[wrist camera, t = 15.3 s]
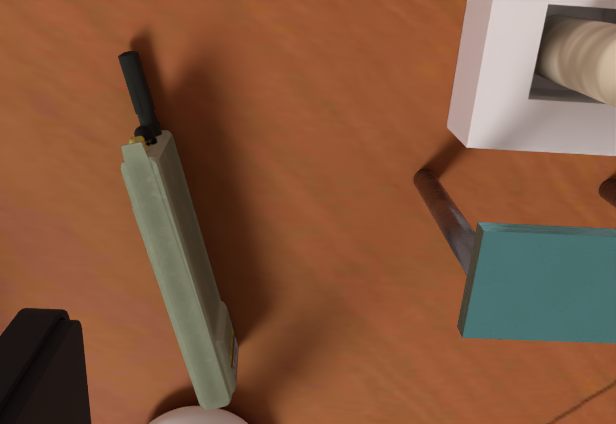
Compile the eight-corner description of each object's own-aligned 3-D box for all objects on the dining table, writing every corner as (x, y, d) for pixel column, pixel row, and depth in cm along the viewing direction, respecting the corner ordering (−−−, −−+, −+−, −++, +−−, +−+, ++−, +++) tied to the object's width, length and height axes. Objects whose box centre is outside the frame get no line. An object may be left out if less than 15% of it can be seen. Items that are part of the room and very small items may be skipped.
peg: (529, 13, 38) (610, 28, 29) (589, 16, 38) (689, 31, 29) (518, 76, 39) (592, 110, 30) (576, 78, 40) (667, 112, 30)
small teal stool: (416, 139, 42) (484, 230, 28) (634, 151, 43) (807, 246, 29) (405, 216, 44) (462, 337, 30) (611, 226, 45) (761, 348, 31)
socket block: (476, -60, 37) (504, -63, 32) (661, -46, 38) (712, -47, 33) (446, 126, 42) (466, 147, 37) (611, 136, 42) (650, 157, 38)
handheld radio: (202, 357, 49) (105, 54, 39) (241, 349, 49) (154, 44, 39) (194, 413, 43) (77, 71, 33) (239, 404, 43) (134, 59, 33)
